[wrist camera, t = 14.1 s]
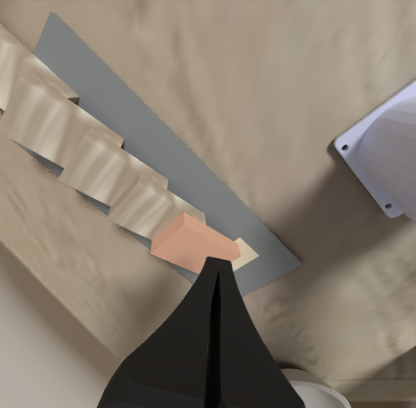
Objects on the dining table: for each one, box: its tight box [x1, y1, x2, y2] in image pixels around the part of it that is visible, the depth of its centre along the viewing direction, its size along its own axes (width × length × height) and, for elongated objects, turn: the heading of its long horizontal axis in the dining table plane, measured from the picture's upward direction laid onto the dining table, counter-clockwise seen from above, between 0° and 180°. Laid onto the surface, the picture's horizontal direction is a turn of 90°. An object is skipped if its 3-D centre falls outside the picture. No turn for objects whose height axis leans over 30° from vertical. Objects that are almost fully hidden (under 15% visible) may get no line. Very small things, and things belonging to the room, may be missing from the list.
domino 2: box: [0, 73, 124, 168], centre depth 18 cm, size 2×5×8 cm
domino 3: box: [58, 129, 168, 207], centre depth 19 cm, size 2×5×8 cm
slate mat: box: [15, 12, 303, 297], centre depth 22 cm, size 31×12×1 cm, turn 45°
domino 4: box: [107, 173, 206, 240], centre depth 21 cm, size 2×5×8 cm
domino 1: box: [0, 24, 80, 111], centre depth 18 cm, size 2×5×8 cm
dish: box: [280, 369, 351, 408], centre depth 33 cm, size 18×14×5 cm
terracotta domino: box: [150, 212, 241, 274], centre depth 22 cm, size 2×5×8 cm
